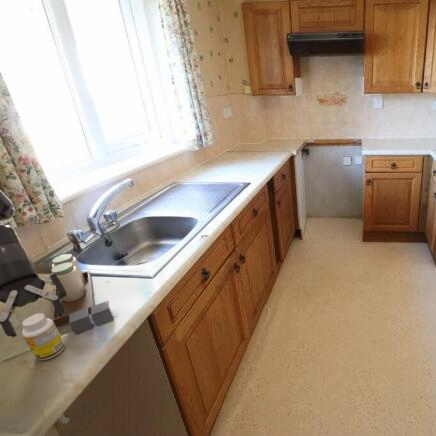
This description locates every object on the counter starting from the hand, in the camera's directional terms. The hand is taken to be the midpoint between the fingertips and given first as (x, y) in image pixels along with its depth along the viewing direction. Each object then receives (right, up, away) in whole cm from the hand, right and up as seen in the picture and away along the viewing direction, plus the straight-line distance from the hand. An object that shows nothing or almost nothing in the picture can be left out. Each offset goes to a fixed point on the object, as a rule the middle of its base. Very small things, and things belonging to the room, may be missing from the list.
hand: (38, 325), depth 75 cm
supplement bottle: (+1, -7, +2) cm, 8 cm away
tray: (-7, +1, +20) cm, 21 cm away
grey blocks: (+5, -3, +11) cm, 12 cm away
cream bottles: (-10, +3, +23) cm, 25 cm away
